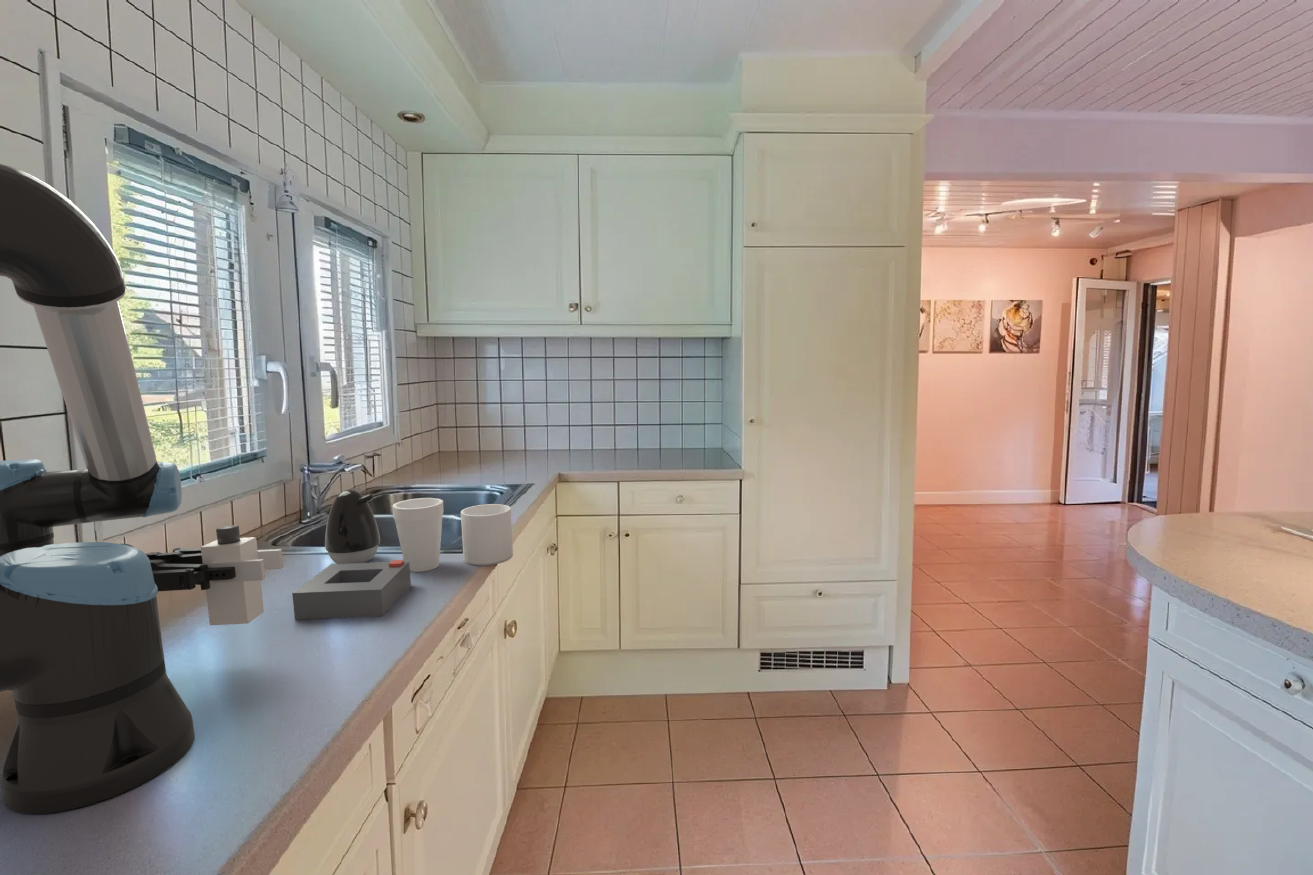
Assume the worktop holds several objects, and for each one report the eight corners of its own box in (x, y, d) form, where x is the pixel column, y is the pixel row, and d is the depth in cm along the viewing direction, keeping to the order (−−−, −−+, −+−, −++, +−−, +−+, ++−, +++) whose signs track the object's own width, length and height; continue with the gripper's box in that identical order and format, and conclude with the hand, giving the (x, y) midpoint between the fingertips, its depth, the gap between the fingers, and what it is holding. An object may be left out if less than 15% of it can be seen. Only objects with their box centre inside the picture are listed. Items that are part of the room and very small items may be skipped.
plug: (247, 623, 87) (237, 530, 85) (209, 625, 86) (199, 532, 85) (264, 612, 90) (254, 523, 89) (227, 613, 90) (217, 524, 89)
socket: (383, 615, 103) (380, 585, 103) (294, 619, 103) (291, 589, 102) (410, 584, 117) (408, 558, 117) (333, 587, 116) (330, 561, 116)
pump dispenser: (361, 571, 125) (355, 496, 123) (315, 569, 127) (308, 494, 125) (392, 555, 135) (387, 485, 133) (349, 553, 137) (343, 484, 135)
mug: (509, 564, 128) (507, 514, 126) (459, 567, 127) (455, 517, 125) (517, 545, 140) (515, 500, 139) (471, 548, 139) (468, 502, 138)
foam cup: (401, 561, 131) (396, 499, 129) (448, 556, 133) (444, 496, 131) (394, 576, 122) (389, 510, 120) (445, 571, 124) (441, 506, 122)
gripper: (144, 578, 95) (304, 570, 97) (43, 624, 78) (238, 614, 80) (138, 529, 94) (300, 522, 96) (34, 565, 78) (232, 556, 79)
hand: (271, 564), depth 88 cm, fingers closed on plug, 4 cm apart
